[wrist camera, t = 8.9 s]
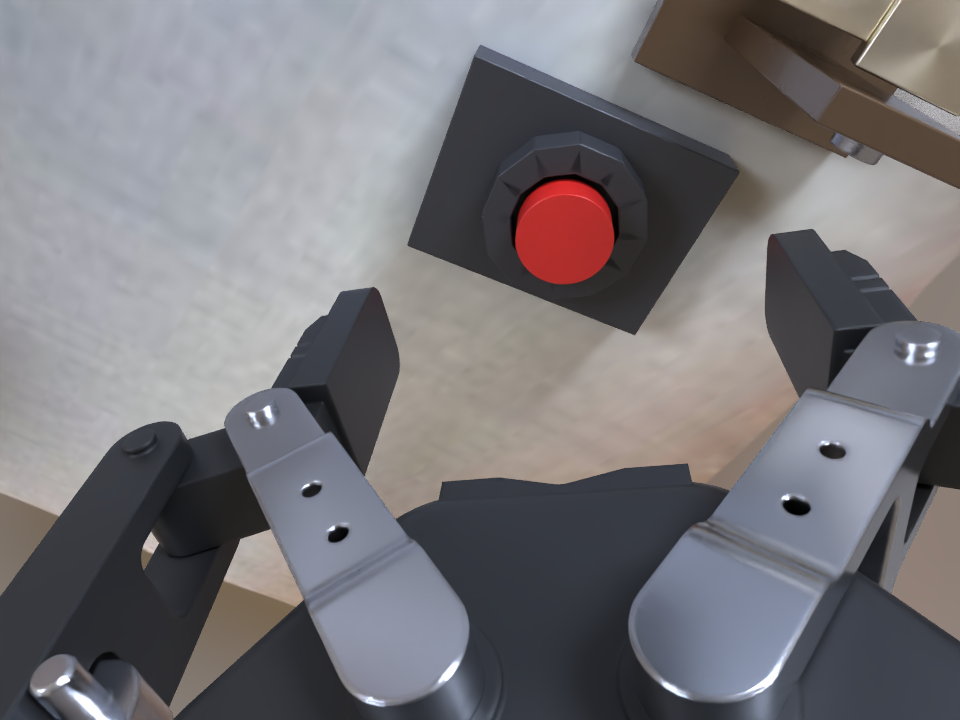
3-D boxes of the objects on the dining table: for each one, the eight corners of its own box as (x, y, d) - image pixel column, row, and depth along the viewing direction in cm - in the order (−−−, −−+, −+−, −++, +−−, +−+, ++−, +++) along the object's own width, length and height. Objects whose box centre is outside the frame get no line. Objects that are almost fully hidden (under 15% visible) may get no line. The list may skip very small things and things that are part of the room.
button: (503, 245, 29) (500, 263, 28) (540, 163, 27) (539, 178, 26) (585, 278, 30) (586, 298, 29) (628, 200, 28) (632, 217, 26)
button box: (414, 226, 33) (399, 263, 30) (480, 44, 28) (469, 64, 25) (631, 312, 35) (638, 356, 32) (729, 155, 30) (750, 187, 26)
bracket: (631, 55, 28) (674, 153, 17) (759, -210, 23) (929, -295, 12) (836, 148, 29) (990, 292, 19) (1000, -81, 24) (1338, -60, 14)
